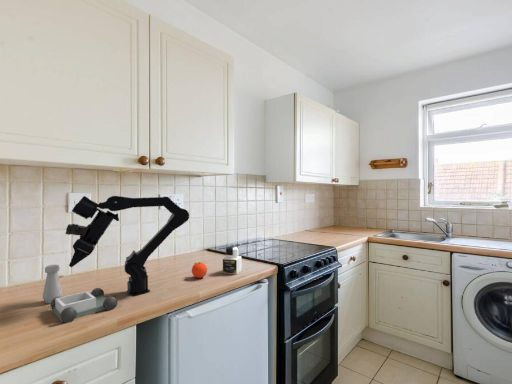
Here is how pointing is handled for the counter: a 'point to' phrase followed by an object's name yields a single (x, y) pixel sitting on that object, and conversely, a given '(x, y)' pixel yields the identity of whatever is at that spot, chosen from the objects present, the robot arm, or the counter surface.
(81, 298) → the toy wheeled cart
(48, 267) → the salt shaker
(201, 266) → the clementine
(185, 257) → the counter surface
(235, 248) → the medicine bottle
